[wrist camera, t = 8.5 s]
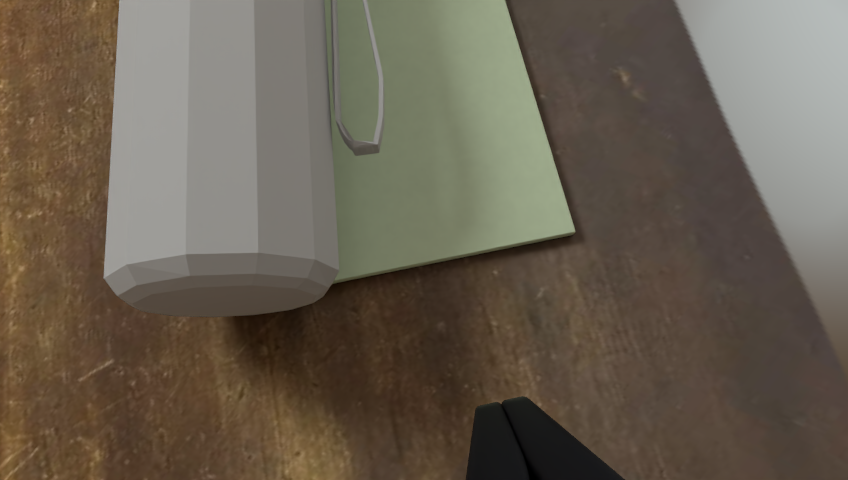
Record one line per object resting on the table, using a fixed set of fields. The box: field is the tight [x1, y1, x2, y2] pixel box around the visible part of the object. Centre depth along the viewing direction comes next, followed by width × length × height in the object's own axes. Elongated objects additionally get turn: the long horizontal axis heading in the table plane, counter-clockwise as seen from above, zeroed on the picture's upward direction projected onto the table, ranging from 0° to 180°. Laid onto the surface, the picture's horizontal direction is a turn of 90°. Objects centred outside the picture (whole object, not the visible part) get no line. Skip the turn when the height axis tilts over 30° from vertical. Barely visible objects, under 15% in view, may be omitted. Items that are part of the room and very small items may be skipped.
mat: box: [324, 0, 575, 284], centre depth 25 cm, size 20×12×1 cm, turn 12°
